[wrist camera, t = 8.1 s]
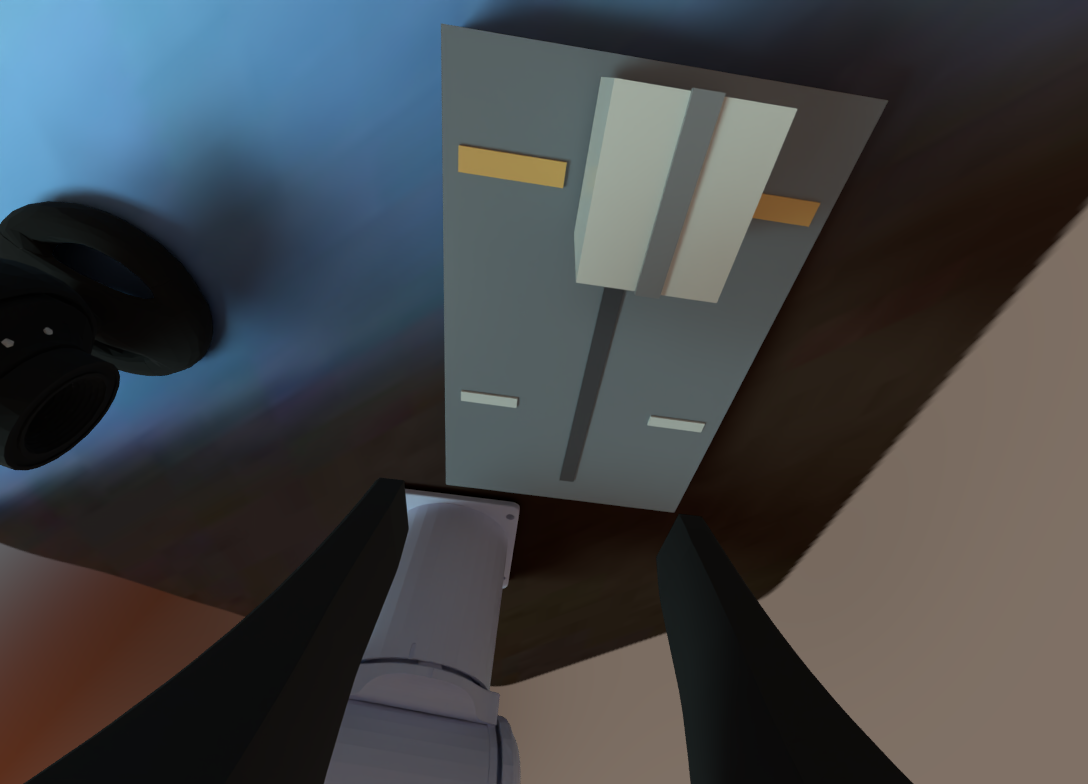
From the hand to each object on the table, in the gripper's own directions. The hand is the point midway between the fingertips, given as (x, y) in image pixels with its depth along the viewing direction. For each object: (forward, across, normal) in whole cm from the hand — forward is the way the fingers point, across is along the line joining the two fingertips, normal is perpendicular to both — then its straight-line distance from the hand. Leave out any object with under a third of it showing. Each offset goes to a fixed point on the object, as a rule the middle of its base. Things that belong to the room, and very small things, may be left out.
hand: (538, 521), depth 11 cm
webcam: (+10, +18, 0) cm, 21 cm away
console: (+9, -2, -1) cm, 9 cm away
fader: (+7, -2, -8) cm, 10 cm away
